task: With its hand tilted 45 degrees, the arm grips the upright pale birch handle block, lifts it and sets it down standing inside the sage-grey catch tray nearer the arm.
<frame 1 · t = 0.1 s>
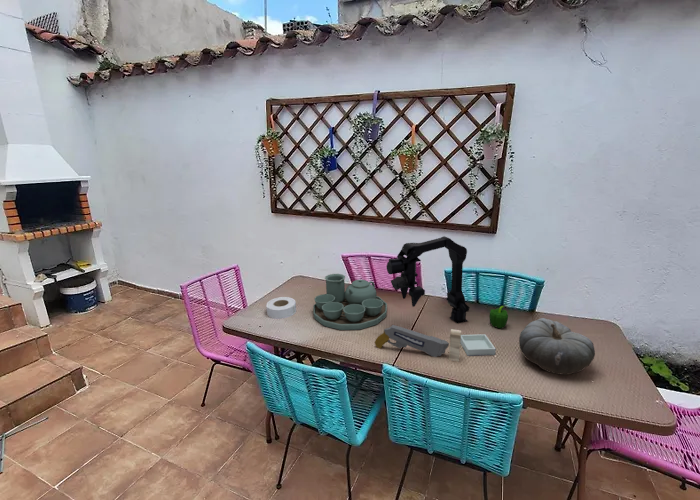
hand: (408, 302, 159), 15 cm above the table, fingers open, 9 cm apart
bell pepper: (498, 326, 165), on the table
roll of tape: (282, 312, 186), on the table
tea set: (350, 312, 183), on the table
catch tray: (476, 347, 148), on the table
gourd: (552, 362, 137), on the table
gun: (410, 352, 147), on the table
handle block: (454, 358, 141), on the table
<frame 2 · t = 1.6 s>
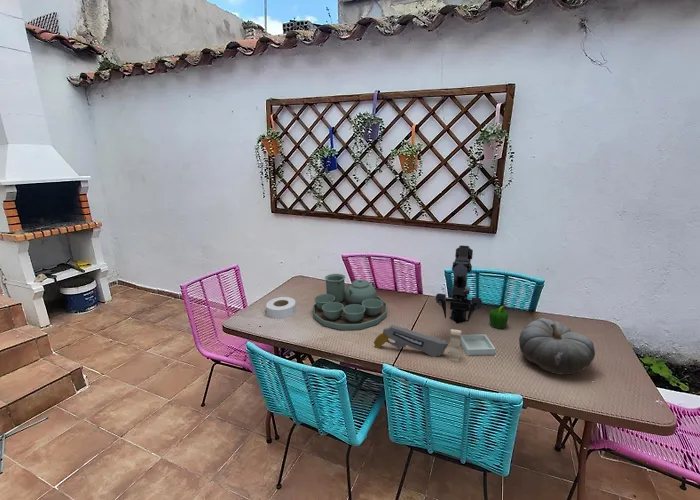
hand: (456, 319, 145), 13 cm above the table, fingers open, 9 cm apart
nothing on the table moved.
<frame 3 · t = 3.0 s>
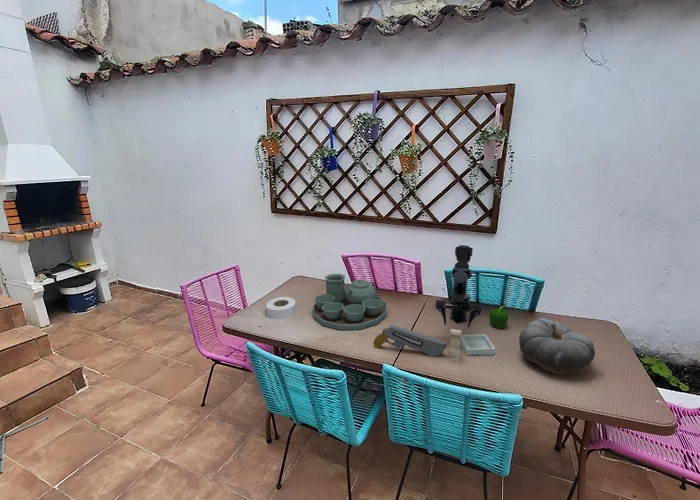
hand: (456, 327, 142), 12 cm above the table, fingers open, 9 cm apart
nothing on the table moved.
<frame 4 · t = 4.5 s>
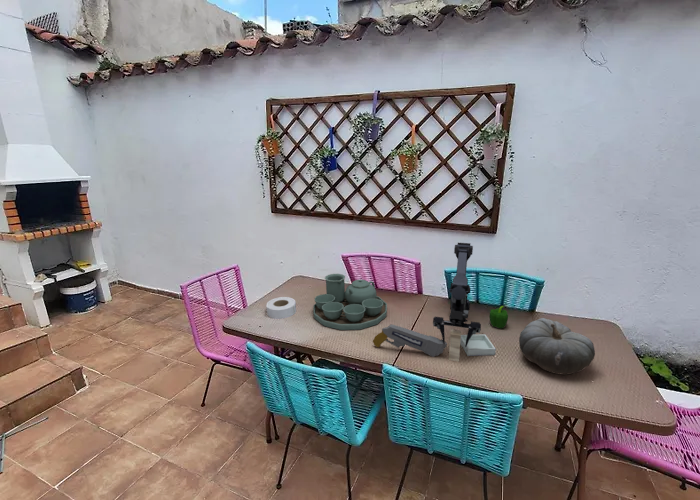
hand: (454, 345, 138), 7 cm above the table, fingers open, 8 cm apart
gun: (408, 350, 147), on the table, touching gripper
everything else where it was.
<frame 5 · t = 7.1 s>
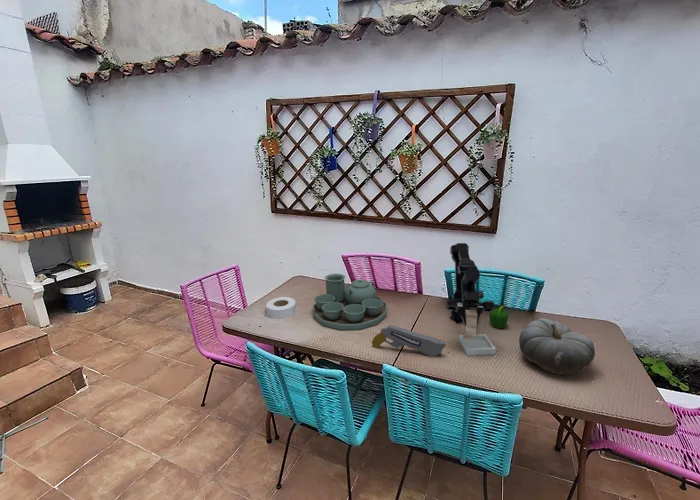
hand: (471, 325, 139), 14 cm above the table, fingers closed on handle block, 4 cm apart
gun: (407, 351, 147), on the table
handle block: (469, 338, 143), point 7 cm above the table, touching gripper
everything else where it was.
when the fingers open (9 cm above the table, at t = 9.1 s): handle block drops 1 cm, resting on catch tray.
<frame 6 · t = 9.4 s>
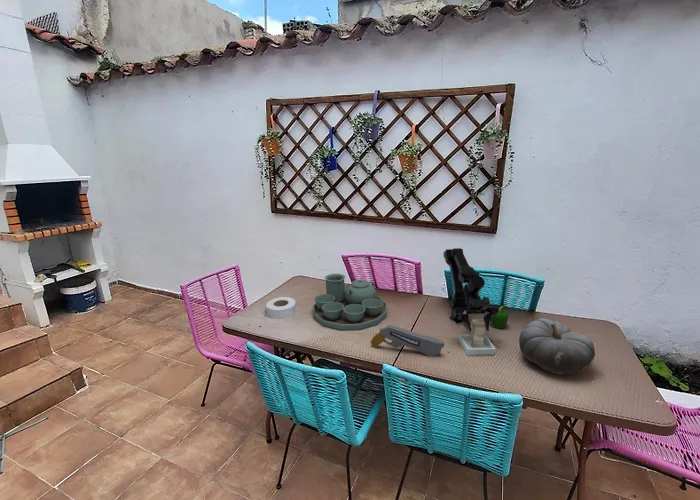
hand: (479, 331, 144), 9 cm above the table, fingers open, 7 cm apart
handle block: (476, 346, 148), point 1 cm above the table, touching catch tray
everything else where it was.
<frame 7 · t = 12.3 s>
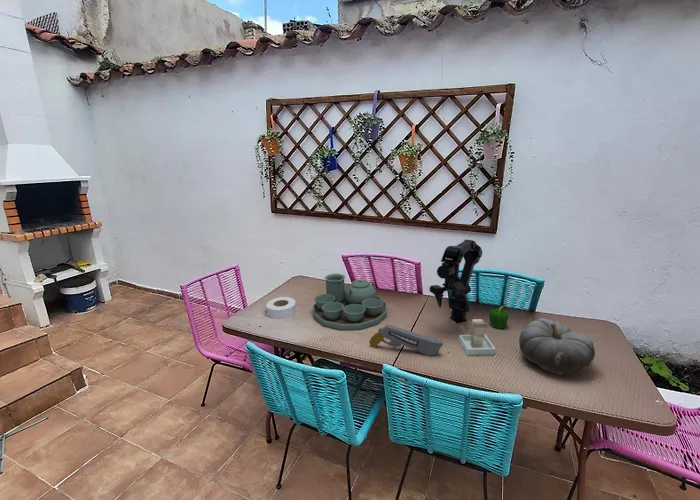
hand: (448, 306, 158), 13 cm above the table, fingers open, 9 cm apart
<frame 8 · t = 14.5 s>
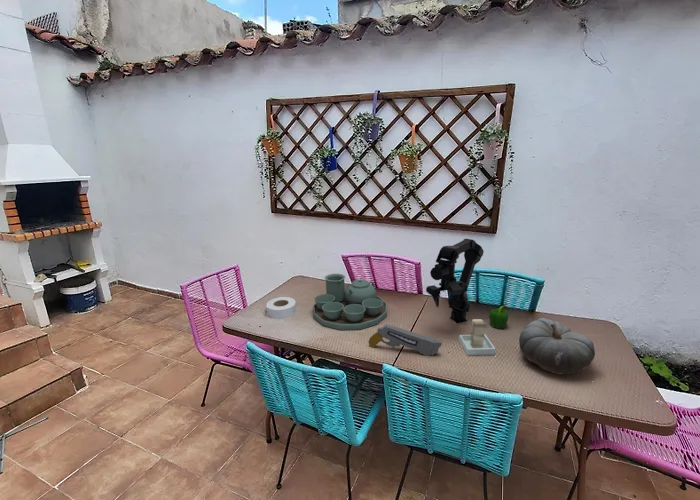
hand: (445, 305, 159), 13 cm above the table, fingers open, 9 cm apart
at the end: handle block inside the target area on the catch tray (0.1 cm from its centre), point 0.6 cm above the catch tray's base; handle block tilted 0°; the gripper is holding nothing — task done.
